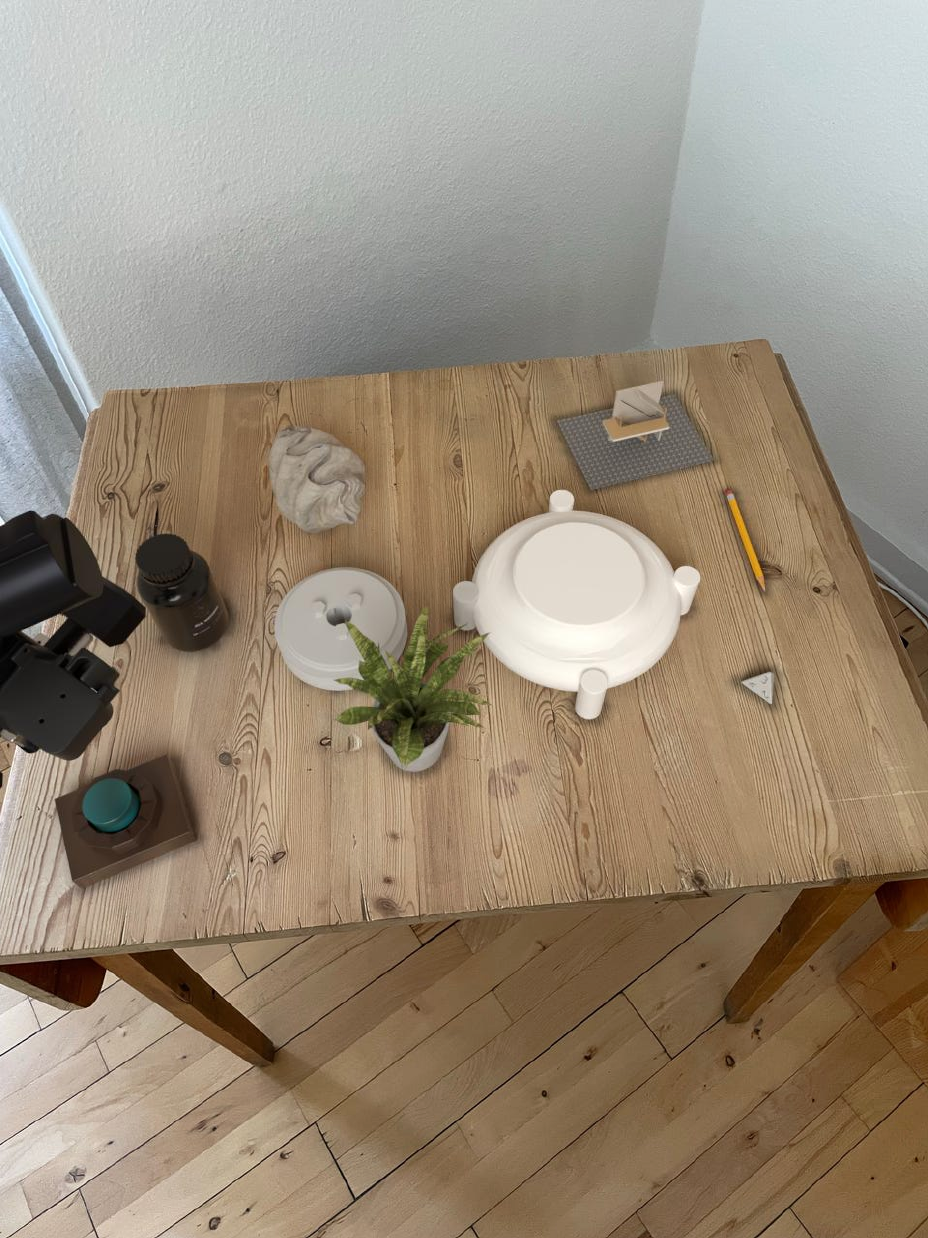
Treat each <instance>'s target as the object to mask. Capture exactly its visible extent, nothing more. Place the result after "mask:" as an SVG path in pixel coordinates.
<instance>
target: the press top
mask: <svg viewBox="0 0 928 1238" xmlns="http://www.w3.org/2000/svg"><path fill="white" fill-rule="evenodd" d="M138 808H139V801H138V797H137V795H136V794H135V793H134V791H133V790H132V789H131V788H130V787H129V786H128V785H127V784H126V783H125V782H124V781H122V780H120V779H115V778H109V779H104V780H102V781H99V782H98V783H96V784H95V785H93V786H92V787H91V788H90V789H89V790H88V792H87V793H86V795H85V797H84V800H83V812H84V815H85V816H86V818H87V819H88V820H89V821H90V822H91V823H93V824H94V825H95V826H96V827H97V828H98V829H100V830H102V831H106V832H113V831H118V830H121V829H123V828H124V827H126V826H127V825H129V824H130V823H131V822H132V821H133V819H134V818H135V816H136V814H137V812H138Z"/></svg>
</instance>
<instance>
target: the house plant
mask: <svg viewBox="0 0 928 1238" xmlns="http://www.w3.org/2000/svg"><path fill="white" fill-rule="evenodd" d="M428 607H429V604H427V605H425V607H424V608H423V609H422V611H421V613H420V614H419V615H418V617H417V619H416V621H415V623H414V626H413V628H412V631H411V634H410V639H409V641H408V645H407V648H406V651H405V653H404V657H403V661H402V667H401V666H400V665H399V664H398V662H397V663H396V661H395V659H394V658H393V657H392V655H390V654H389V653H388V652H387V651H386V654H387V657H388V659H389V663H390V665H391V667H392V669H391V670H392V673H393V675H394V677H393V675H392V673H391V670H389V669H388V666H387V664H386V662H385V660H384V658H383V657H382V655H381V653H380V649H379V642H378V647H377V646H376V644H375V643H374V642H373V641H372V640H370V639H369V638H367V637H366V636H364V635H363V634H362V633H361V632H360V631H359V629H358V628H357V627H356V626H355V625H353V624H351V623H349V622H347V621H345V624H346V626H347V628H348V630H349V633H350V635H351V637H352V639H353V640H354V642H355V644H356V646H357V648H358V650H359V652H360V653H361V655H362V657H363V659H364V661H365V662H362V661H360V660H359V668H358V670H359V673H360V675H361V676H362V678H363V679H364V680H365V681H364V680H361V679H357V678H341V679H336V680H333V681H336V682H338V683H340V684H346V685H348V686H350V687H351V688H353V689H352V690H355V691H358V692H362V693H364V694H367V695H369V697H371V698H373V699H374V701H373V702H372V705H371V706H363V705H362V706H351V707H349V708H347V709H345V710H344V711H343V712H341V713H339V715H337V716H336V717H335V718H333V720H332V722H333V721H335V722H338V723H340V724H342V725H346V726H347V725H348V726H349V725H350V726H351V725H358V724H362V723H366V722H367V731H369V730H371V732H372V734H373V735H374V737H375V739H376V740H377V742H378V743H379V744H380V746H381V748H383V750H384V751H385V753H386V754H387V755H388V757H389V758H390V760H391V761H392V763H393V764H394V765H395V766H396V767H397V768H399V769H401V770H403V771H405V772H410V773H411V772H422V771H424V770H425V771H426V770H427V769H429V768H431V767H433V766H434V765H435V763H436V762H437V761H438V760H439V758H440V757H441V755H442V751H443V749H444V745H445V741H446V739H447V734H448V731H449V728H450V725H451V723H452V724H453V723H454V724H459V725H462V726H466V727H469V726H470V725H471V726H473V727H475V728H482V729H485V727H484V726H483V725H481V724H480V723H479V722H478V721H477V720H475V719H474V718H471V717H470V716H480V717H482V714H481V713H480V710H479V709H478V708H477V706H476V705H477V704H478V705H480V706H492V704H491V703H490V702H488V701H487V700H485V699H483V698H482V697H480V696H477V695H475V694H472V693H470V692H468V691H464V690H460V689H453V688H452V689H451V688H448V689H443V688H444V686H445V685H447V684H448V683H449V682H450V681H451V680H452V679H453V678H454V677H455V676H456V674H457V673H458V671H459V670H460V667H461V665H462V663H463V662H464V661H465V659H466V658H467V657H469V656H470V655H472V654H474V653H475V652H476V651H477V650H478V649H479V647H477V646H479V645H480V644H481V643H482V642H483V640H484V639H485V638H486V637H487V635H488V634H489V633H486V634H484V635H482V636H480V635H479V636H477V637H475V638H474V639H472V640H470V641H469V642H467V643H465V644H464V645H462V646H461V647H460V648H459V649H458V650H456V651H455V652H454V653H452V654H451V655H450V656H449V657H447V658H444V659H443V660H442V661H440V663H439V664H438V665H437V667H436V669H435V670H434V672H433V674H432V675H431V676H430V678H429V680H428V681H427V682H426V681H423V679H424V677H425V676H426V675H427V673H428V672H429V670H430V669H431V667H432V666H433V665H434V664H435V663H436V662H437V661H438V659H440V658H441V657H442V656H443V655H444V654H445V653H446V652H447V650H448V648H449V645H450V644H449V643H445V642H439V641H441V640H442V639H444V638H446V637H448V636H450V635H452V634H454V633H457V631H459V630H461V629H460V628H462V627H463V626H465V625H466V624H465V625H462V626H460V627H456V628H453V629H451V630H448V631H446V632H443V633H441V634H439V635H436V636H435V637H433V638H432V639H430V640H429V637H428V630H427V629H428V628H427V625H428V621H429V620H428V619H429V610H428V609H429V608H428ZM344 620H345V618H344ZM467 624H468V623H467ZM490 633H491V632H490Z"/></svg>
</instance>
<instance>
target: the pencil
mask: <svg viewBox="0 0 928 1238" xmlns="http://www.w3.org/2000/svg"><path fill="white" fill-rule="evenodd" d="M725 495H726V498H727V501H728V503H729V507H730V509H731V512H732V515H733V519H734V520H735V523H736V526H737V530H738V531H739V535H740V537H741V540H742V543H743V545H744V549H745V551H746V554H747V557H748V559H749V562H750V564H751V567H752V571H753V573H754V576H755V578H756V581H757V582H758V583H759V586H761V589H762V590H763V591H764V592H766V585H765V584H766V583H765V577H764V574H763V571H762V568H761V565H760V563H759V560H758V558H757V555H756V552H755V549H754V547H753V544H752V541H751V538H750V536H749V533H748V531H747V530H748V529H747V527H746V525H745V522H744V519H743V516H742V514H741V511H740V509H739V505H738V503H737V500H736V497H735V494H734V492H733V490H732V489H730V490H727V491H726V492H725Z"/></svg>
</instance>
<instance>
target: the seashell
mask: <svg viewBox="0 0 928 1238" xmlns="http://www.w3.org/2000/svg"><path fill="white" fill-rule="evenodd" d="M272 442H273V443H272V446H271V449H270V450H269V455H268V473H269V482H270V483H269V484H270V487H271V490H272V492H273V494H274V497H275V504H276V507H277V508H278V510H279V511H280V513H281V514H282V516H283V517H284V518H285V519H287V521H289V522H291V523H293V524H295V525H296V526H297V528H298V529H299V530H301V531H303V532H304V533H308V534H309V533H310V534H317V533H321V532H327V531H329V530H331V529H334V528H337V527H338V526H342V525H353V524H357V523H358V521H359V517H360V515H361V512H362V511H361V510H362V499H363V497H364V496H365V494H366V492H367V489H366V485H365V484H366V480H367V479H366V472H367V470H366V469H367V468H366V466H365V463H364V461H363V459H361V458H360V457H359V456H358V455H357V454H356V453H355V452H354V451H353V450H352V449H350V448H349V447H346V446H345V445H344V444H342V442H341V441H340V440H338V439H337V438H336V437H335V436H334V435H332V434H331V433H330V432H325V431H324V430H321V429H316V428H314V427H310V426H301V427H300V426H298V425H294V424H290V425H287V426H286V427H285V428H283V429H281V430H280V431H277V432H276V434H275V437H274V439H273V441H272Z"/></svg>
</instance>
